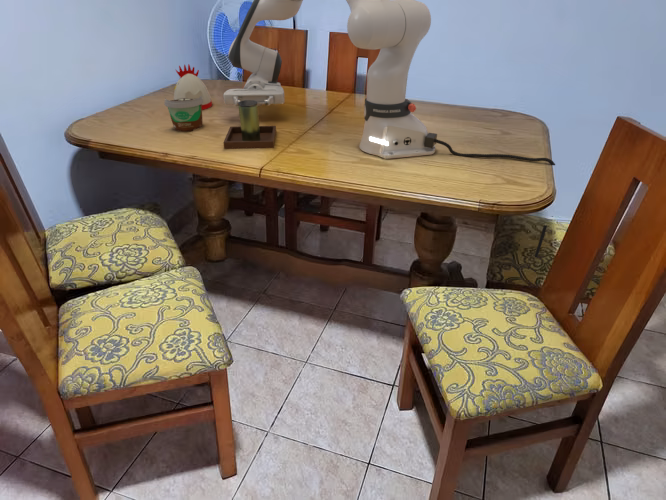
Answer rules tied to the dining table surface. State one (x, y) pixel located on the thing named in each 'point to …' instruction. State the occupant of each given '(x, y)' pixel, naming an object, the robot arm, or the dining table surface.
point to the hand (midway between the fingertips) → (252, 103)
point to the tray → (235, 141)
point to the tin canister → (249, 120)
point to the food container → (185, 113)
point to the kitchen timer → (191, 87)
